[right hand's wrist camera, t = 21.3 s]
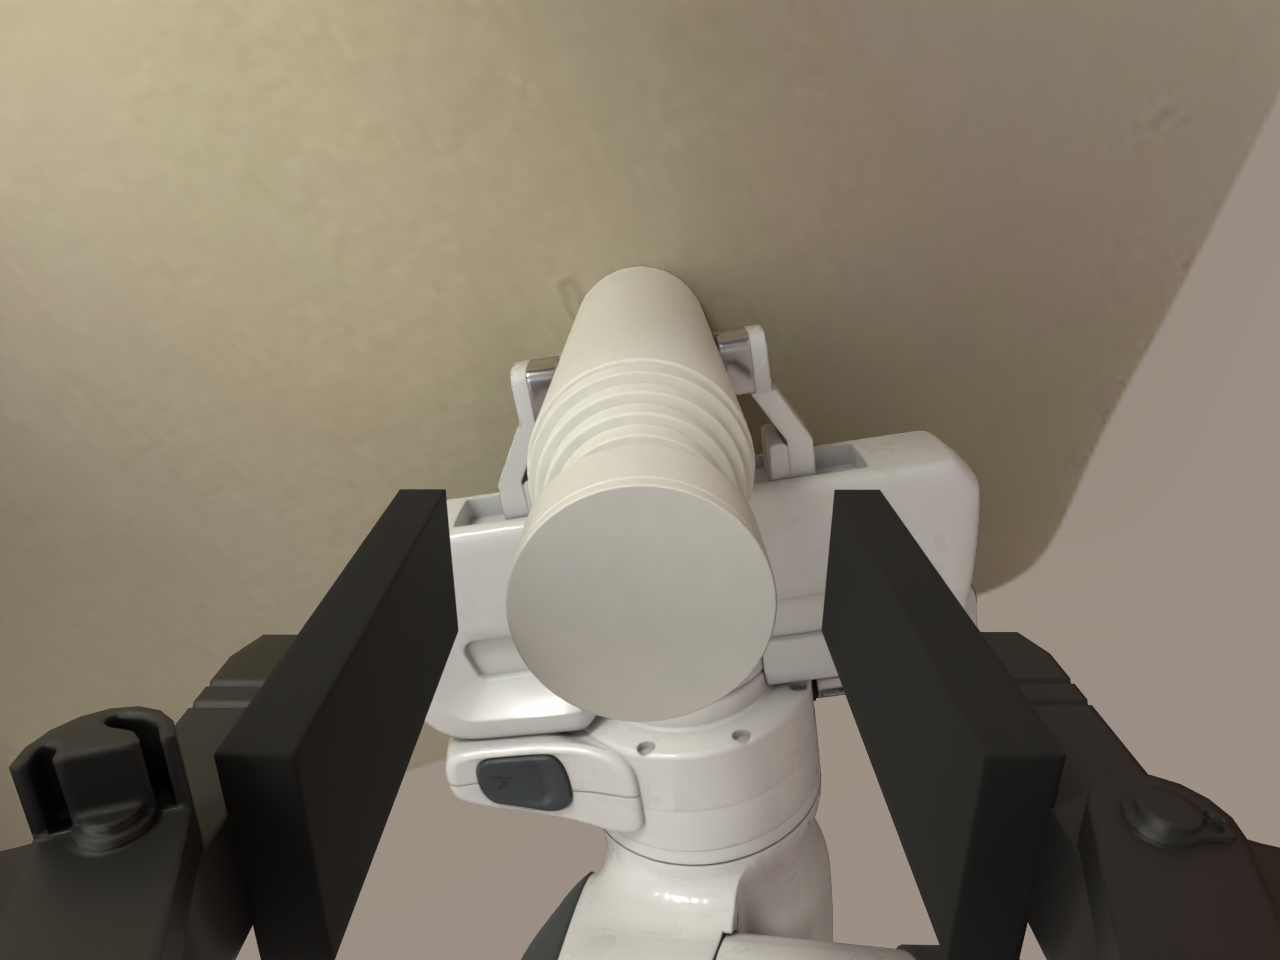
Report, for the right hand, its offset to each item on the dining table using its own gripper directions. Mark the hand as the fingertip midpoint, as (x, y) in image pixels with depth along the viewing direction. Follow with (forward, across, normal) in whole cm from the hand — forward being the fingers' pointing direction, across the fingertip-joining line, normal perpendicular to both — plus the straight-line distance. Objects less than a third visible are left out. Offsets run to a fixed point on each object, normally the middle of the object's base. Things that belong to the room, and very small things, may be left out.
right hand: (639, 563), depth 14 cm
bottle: (+19, 0, 0) cm, 19 cm away
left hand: (+13, 0, -1) cm, 13 cm away
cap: (-1, 0, 0) cm, 1 cm away
